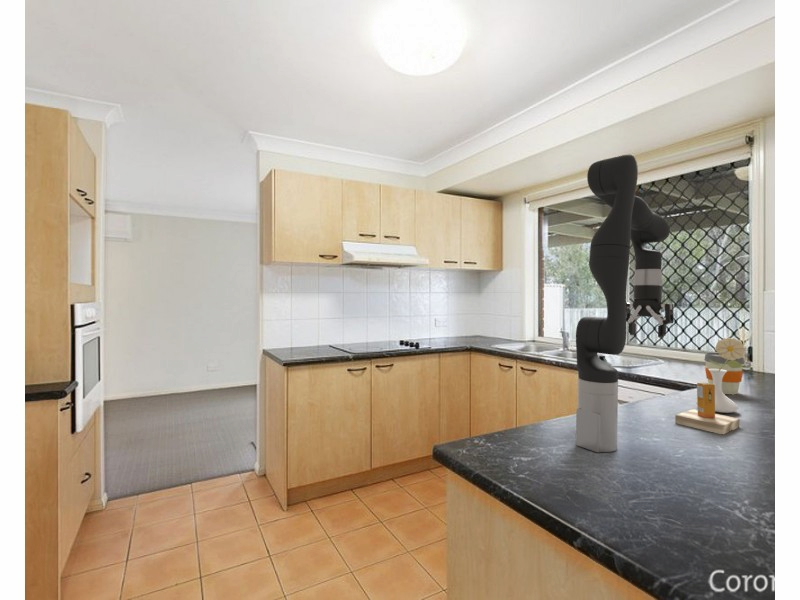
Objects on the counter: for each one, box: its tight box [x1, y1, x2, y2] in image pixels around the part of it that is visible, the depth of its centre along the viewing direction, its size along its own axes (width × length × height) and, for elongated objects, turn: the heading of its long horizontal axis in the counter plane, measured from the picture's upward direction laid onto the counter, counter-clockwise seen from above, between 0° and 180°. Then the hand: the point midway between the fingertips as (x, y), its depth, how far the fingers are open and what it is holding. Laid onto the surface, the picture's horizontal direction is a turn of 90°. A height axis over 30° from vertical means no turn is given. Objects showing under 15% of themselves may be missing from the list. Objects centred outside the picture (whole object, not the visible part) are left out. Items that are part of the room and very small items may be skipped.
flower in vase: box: [695, 337, 747, 414], centre depth 138 cm, size 13×11×25 cm
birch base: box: [674, 408, 741, 435], centre depth 123 cm, size 12×12×2 cm
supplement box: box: [696, 382, 716, 418], centre depth 123 cm, size 3×3×10 cm
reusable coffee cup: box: [703, 352, 745, 396], centre depth 165 cm, size 13×13×15 cm
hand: (646, 336), depth 128 cm, fingers open, 8 cm apart
